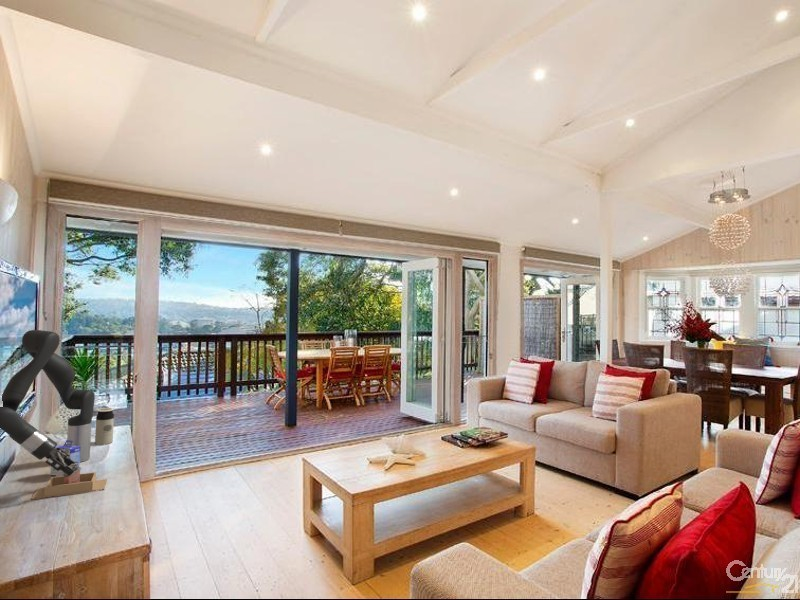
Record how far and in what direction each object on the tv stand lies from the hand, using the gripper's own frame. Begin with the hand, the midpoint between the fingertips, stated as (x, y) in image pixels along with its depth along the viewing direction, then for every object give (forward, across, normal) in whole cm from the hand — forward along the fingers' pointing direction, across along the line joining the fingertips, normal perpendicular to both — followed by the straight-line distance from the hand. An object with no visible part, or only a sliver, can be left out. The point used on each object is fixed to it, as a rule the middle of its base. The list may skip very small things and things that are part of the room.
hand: (73, 470), depth 179 cm
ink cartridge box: (+2, +20, +9) cm, 22 cm away
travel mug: (+9, +66, +2) cm, 66 cm away
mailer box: (+5, +2, +6) cm, 8 cm away
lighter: (+5, 0, +6) cm, 8 cm away
